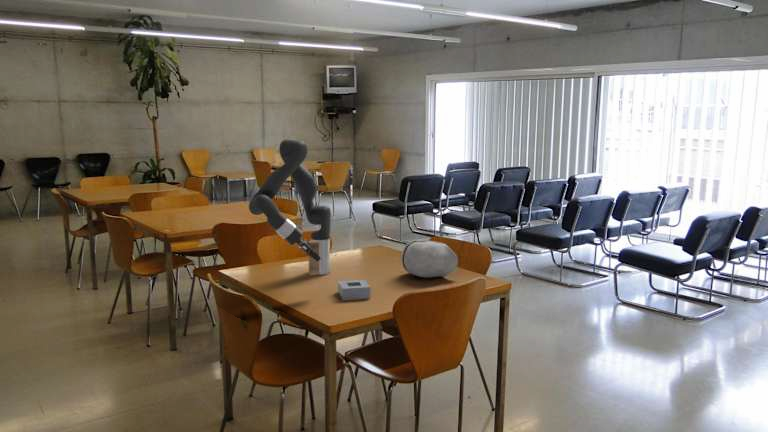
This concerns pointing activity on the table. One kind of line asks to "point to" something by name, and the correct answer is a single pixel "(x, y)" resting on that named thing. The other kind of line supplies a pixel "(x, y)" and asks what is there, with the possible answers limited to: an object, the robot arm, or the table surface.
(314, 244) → the peg
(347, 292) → the socket
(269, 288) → the table surface
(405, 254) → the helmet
